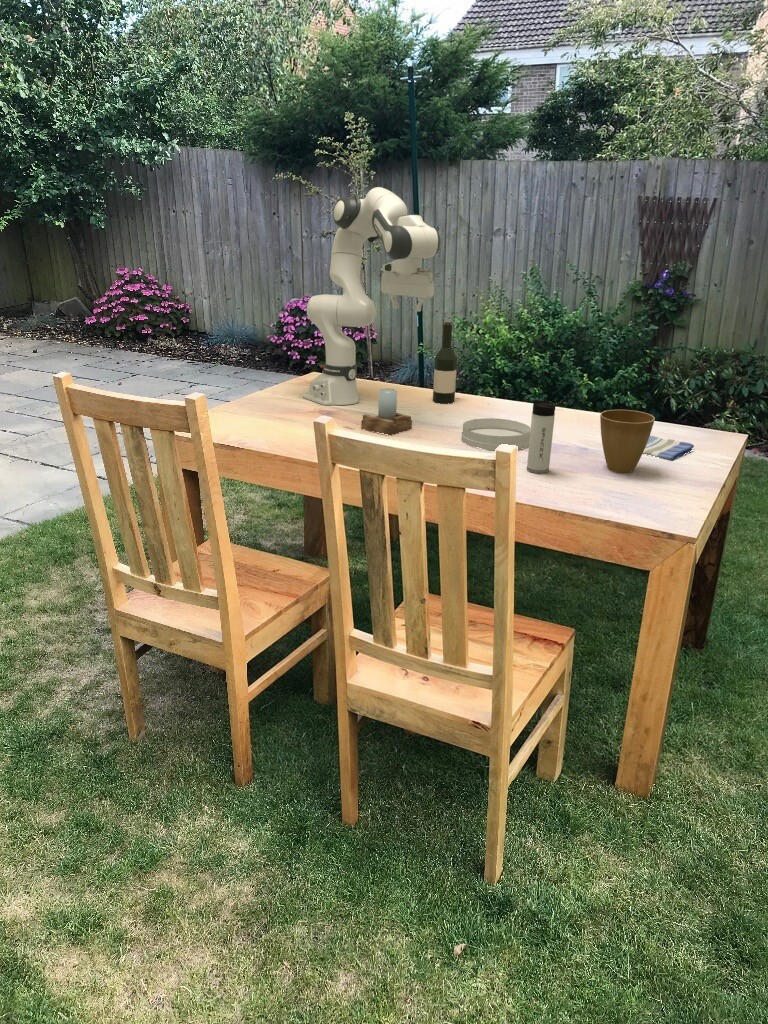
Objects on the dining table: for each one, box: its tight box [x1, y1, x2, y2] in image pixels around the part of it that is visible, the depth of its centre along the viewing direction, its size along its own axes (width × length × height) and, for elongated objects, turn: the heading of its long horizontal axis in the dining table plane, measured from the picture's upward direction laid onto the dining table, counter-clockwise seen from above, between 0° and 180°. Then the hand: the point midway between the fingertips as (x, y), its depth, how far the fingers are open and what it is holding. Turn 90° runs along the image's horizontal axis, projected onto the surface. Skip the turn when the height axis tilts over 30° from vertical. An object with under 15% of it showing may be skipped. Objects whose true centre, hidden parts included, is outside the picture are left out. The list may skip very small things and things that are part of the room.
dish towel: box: [642, 435, 695, 461], centre depth 249 cm, size 17×24×3 cm
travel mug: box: [526, 399, 556, 475], centre depth 221 cm, size 6×7×20 cm
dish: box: [460, 417, 531, 452], centre depth 251 cm, size 22×22×5 cm
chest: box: [360, 412, 413, 436], centre depth 261 cm, size 12×12×5 cm
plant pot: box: [599, 409, 656, 474], centre depth 225 cm, size 15×15×16 cm
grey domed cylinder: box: [377, 388, 398, 421], centre depth 259 cm, size 6×6×10 cm
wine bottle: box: [432, 321, 458, 405], centre depth 295 cm, size 8×8×30 cm
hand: (406, 309), depth 264 cm, fingers open, 8 cm apart
